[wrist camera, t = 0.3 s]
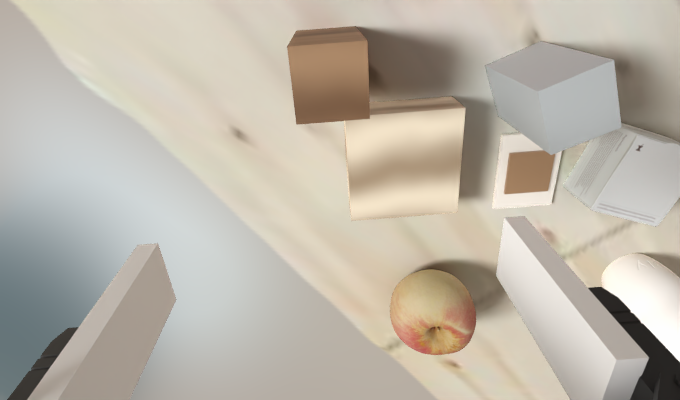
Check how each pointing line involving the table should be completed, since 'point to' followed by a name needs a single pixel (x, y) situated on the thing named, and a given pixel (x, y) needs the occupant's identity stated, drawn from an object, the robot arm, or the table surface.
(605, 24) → the table surface
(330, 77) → the walnut pillar
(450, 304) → the apple
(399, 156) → the birch base
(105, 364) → the robot arm
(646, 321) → the figurine
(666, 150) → the small box
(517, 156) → the tile
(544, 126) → the slate pillar
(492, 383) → the table surface
